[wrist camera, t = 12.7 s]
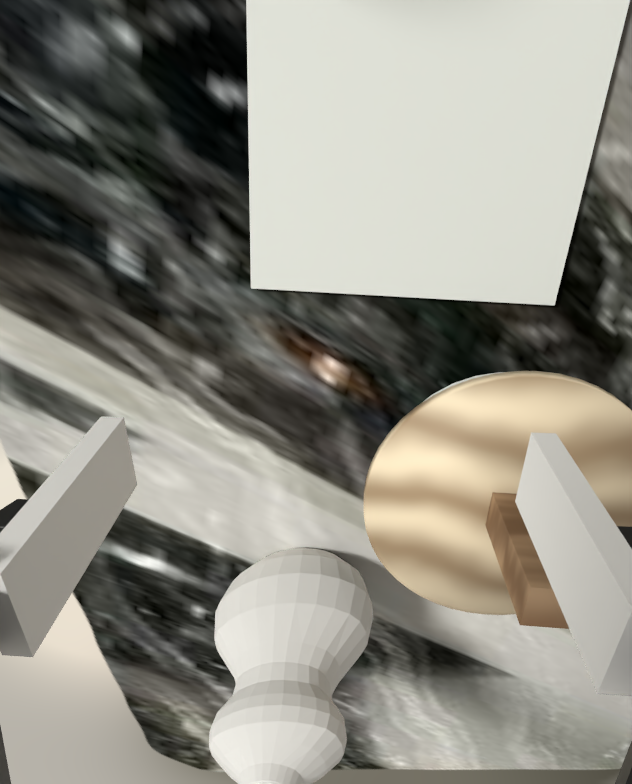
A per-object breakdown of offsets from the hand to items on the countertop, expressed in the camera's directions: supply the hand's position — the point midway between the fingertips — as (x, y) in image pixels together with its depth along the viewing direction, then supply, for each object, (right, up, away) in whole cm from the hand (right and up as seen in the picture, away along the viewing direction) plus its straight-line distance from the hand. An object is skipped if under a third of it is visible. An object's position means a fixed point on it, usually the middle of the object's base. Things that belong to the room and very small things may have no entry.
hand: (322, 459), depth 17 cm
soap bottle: (-2, -19, +43) cm, 46 cm away
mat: (+8, +22, +22) cm, 32 cm away
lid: (+16, -7, +26) cm, 32 cm away
